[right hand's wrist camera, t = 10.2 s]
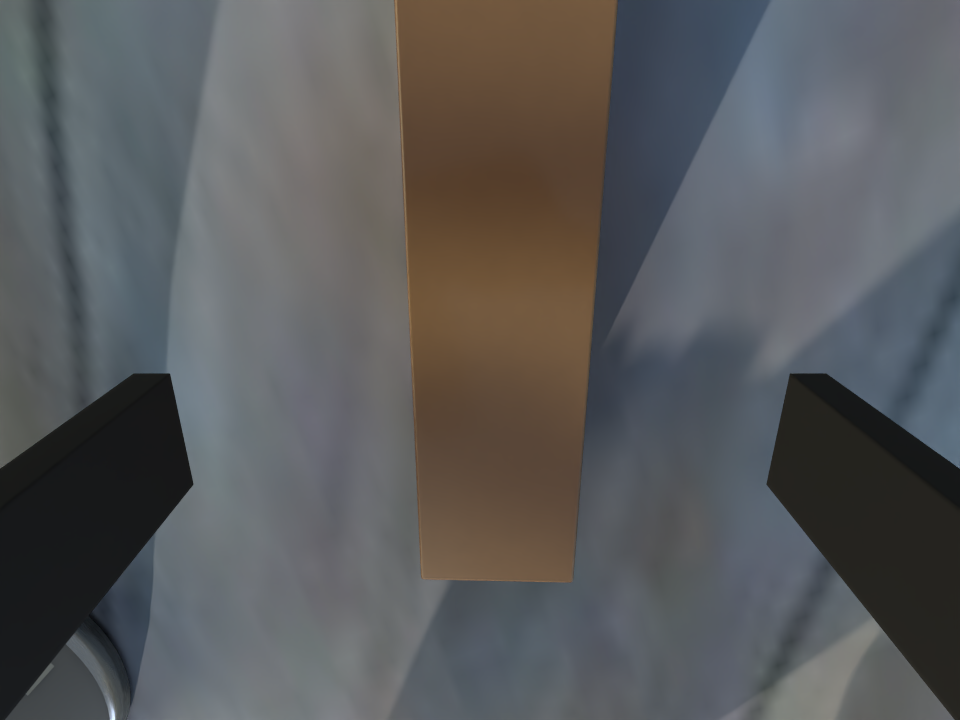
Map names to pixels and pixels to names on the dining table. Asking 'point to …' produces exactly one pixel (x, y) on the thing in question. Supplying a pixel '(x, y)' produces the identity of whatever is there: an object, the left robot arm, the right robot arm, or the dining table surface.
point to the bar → (502, 271)
